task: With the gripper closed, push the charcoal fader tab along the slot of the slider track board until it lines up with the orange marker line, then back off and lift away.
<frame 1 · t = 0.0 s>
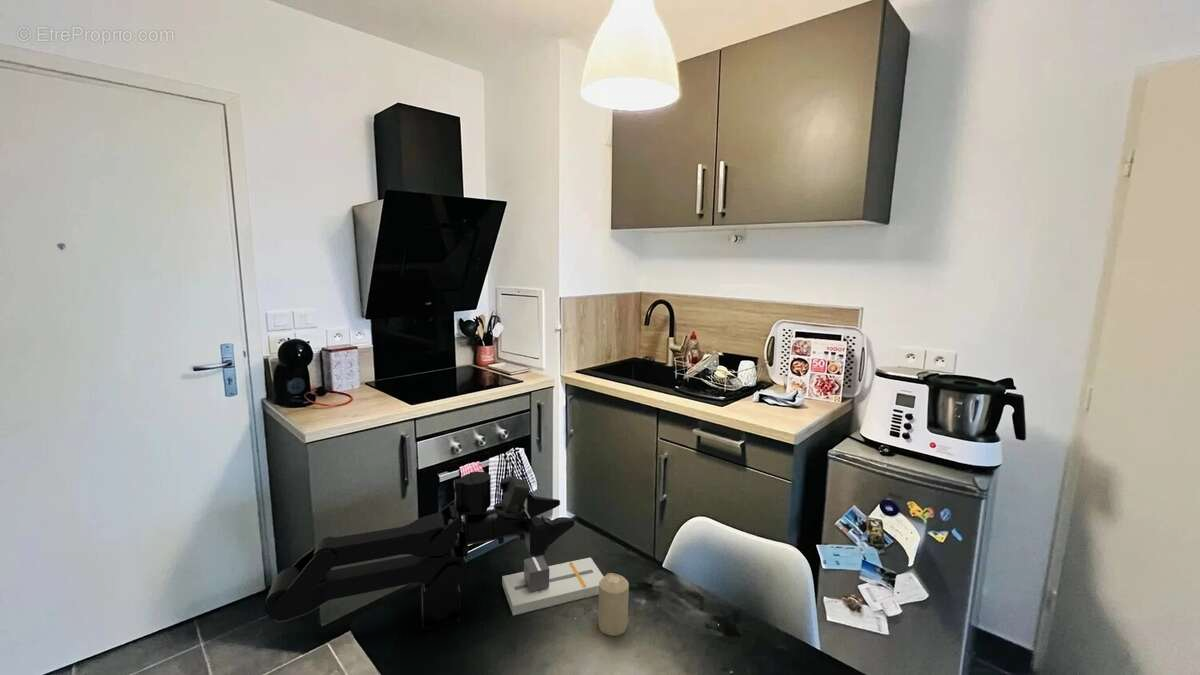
hand: (566, 512, 102), 17 cm above the table, tool horizontal, fingers open, 9 cm apart
candle: (612, 626, 93), on the table
fader: (536, 572, 101), point 4 cm above the table, slide at 0.0 cm
slider track board: (554, 588, 103), on the table
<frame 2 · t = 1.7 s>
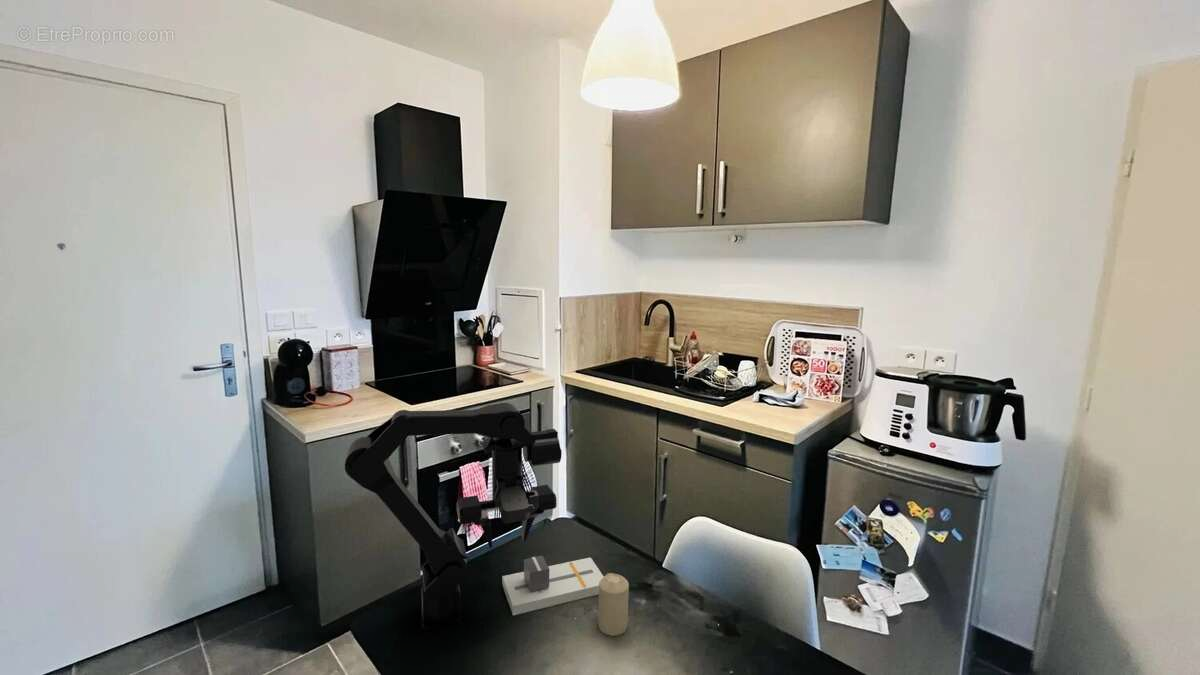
hand: (507, 543, 98), 12 cm above the table, tool pointing down, fingers open, 6 cm apart
nothing on the table moved.
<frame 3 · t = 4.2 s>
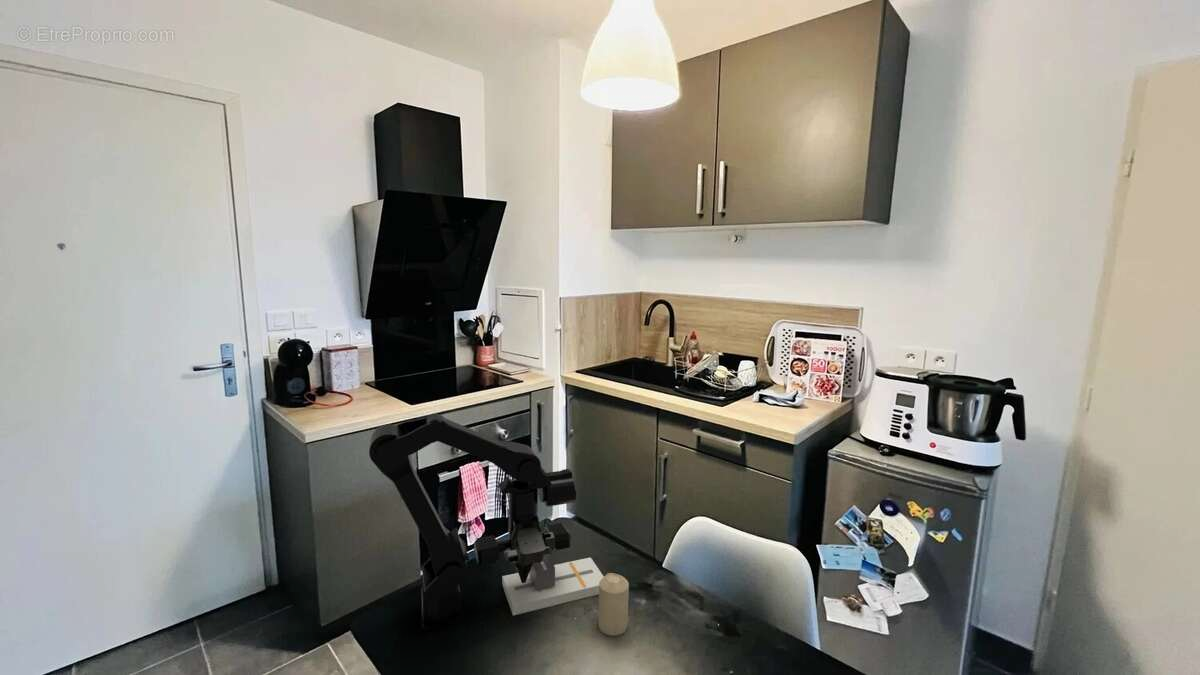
hand: (523, 581, 100), 3 cm above the table, tool pointing down, fingers closed
fader: (542, 571, 101), point 4 cm above the table, slide at 1.2 cm, touching gripper
everything else where it was.
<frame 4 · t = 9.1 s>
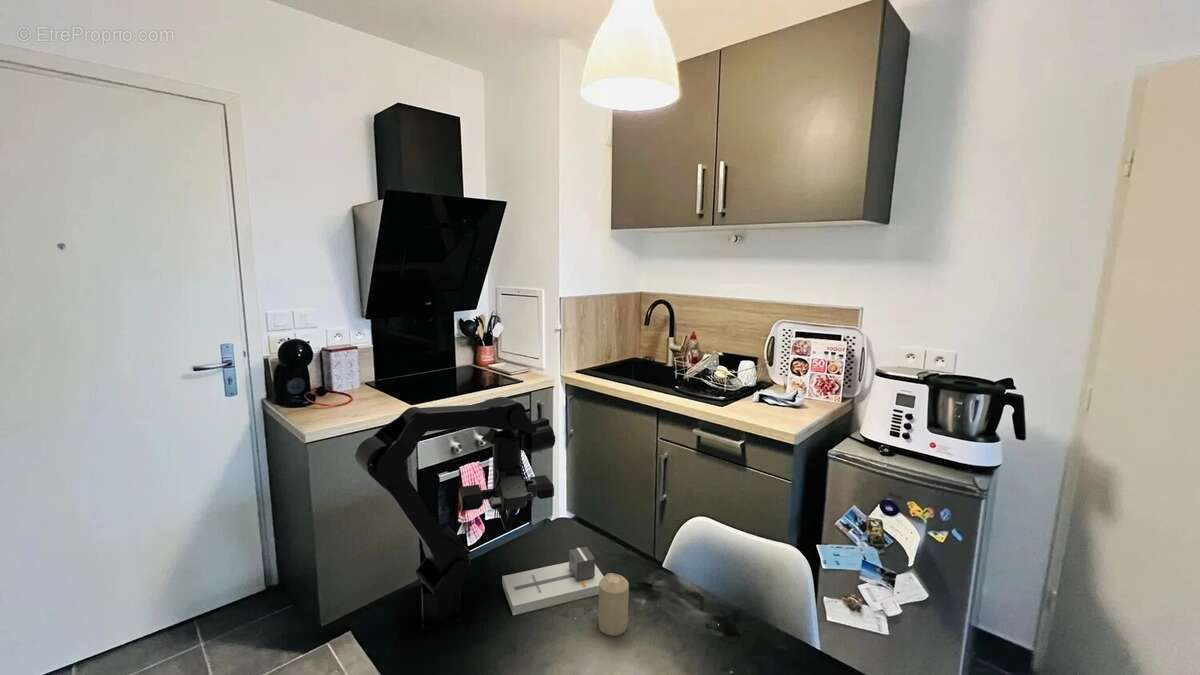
hand: (507, 530, 103), 12 cm above the table, tool pointing down, fingers closed
fader: (581, 563, 105), point 4 cm above the table, slide at 9.9 cm
everything else where it was.
at the end: fader slide at 9.9 cm; candle moved 0.2 cm from its start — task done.
